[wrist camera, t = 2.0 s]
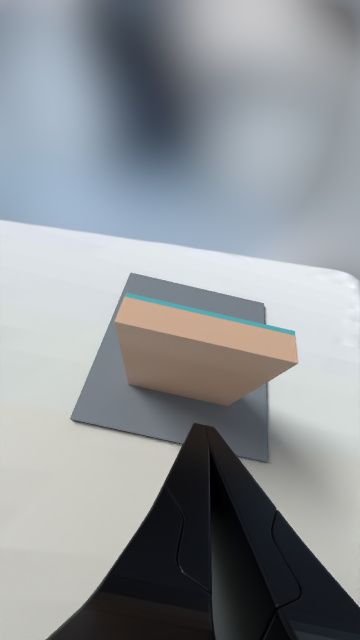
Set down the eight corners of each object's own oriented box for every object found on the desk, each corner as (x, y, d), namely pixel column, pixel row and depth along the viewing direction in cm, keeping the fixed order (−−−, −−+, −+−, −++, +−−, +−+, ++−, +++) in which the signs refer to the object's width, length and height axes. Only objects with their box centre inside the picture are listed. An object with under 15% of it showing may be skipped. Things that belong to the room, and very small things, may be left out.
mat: (266, 461, 20) (268, 461, 20) (71, 419, 20) (69, 418, 20) (262, 305, 30) (263, 303, 30) (130, 274, 30) (130, 272, 29)
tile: (227, 406, 22) (298, 363, 12) (128, 384, 22) (114, 321, 12) (228, 386, 23) (294, 331, 13) (134, 365, 23) (125, 292, 13)
